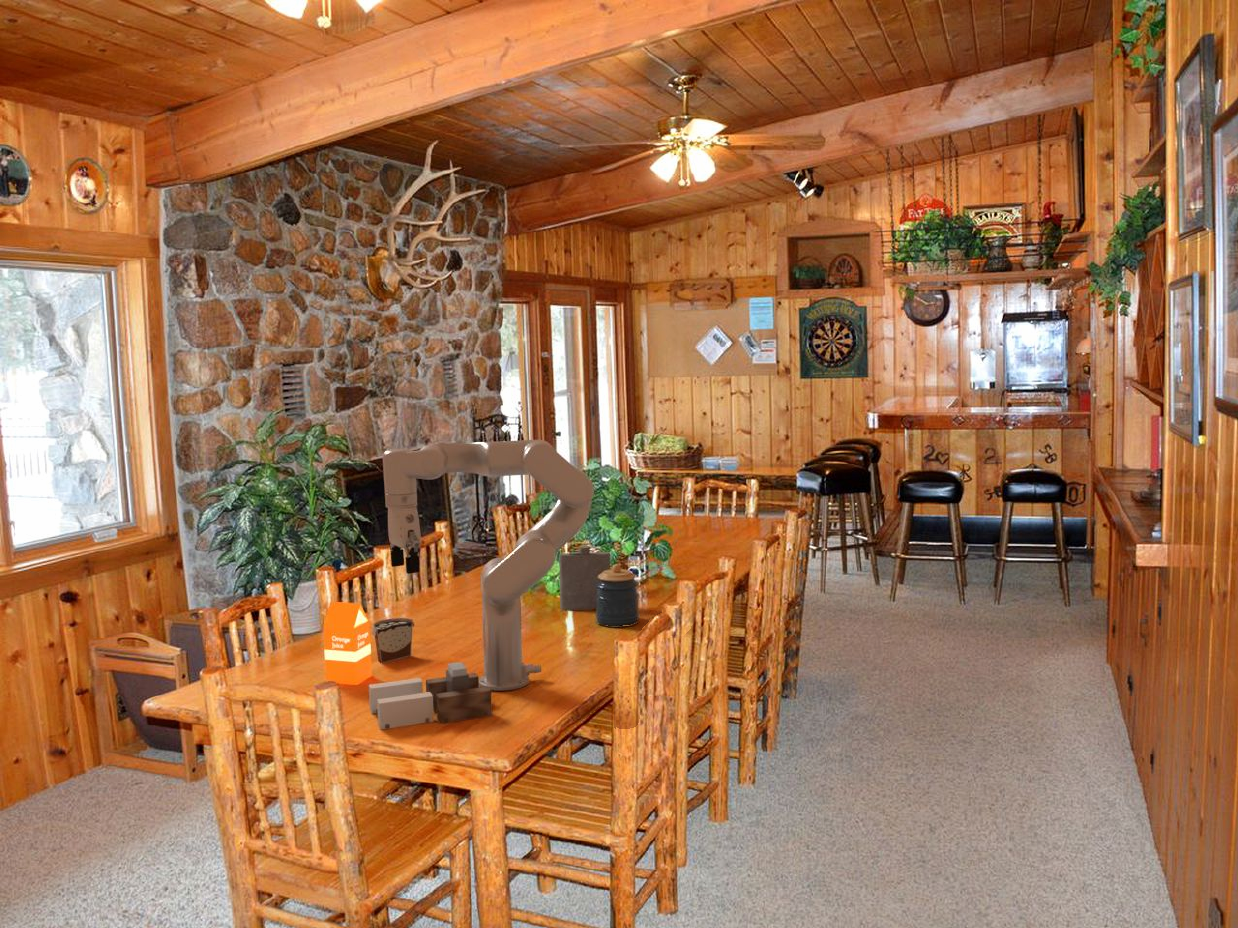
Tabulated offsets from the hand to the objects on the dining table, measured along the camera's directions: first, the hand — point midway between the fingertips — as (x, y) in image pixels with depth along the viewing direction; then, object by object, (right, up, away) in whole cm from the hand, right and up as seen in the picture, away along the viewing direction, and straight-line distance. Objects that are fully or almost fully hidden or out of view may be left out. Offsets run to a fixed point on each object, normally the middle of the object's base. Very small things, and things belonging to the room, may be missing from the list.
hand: (405, 569), depth 268 cm
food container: (-10, -27, +30) cm, 42 cm away
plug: (+15, -32, -12) cm, 37 cm away
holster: (+15, -32, -12) cm, 37 cm away
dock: (+2, -32, -15) cm, 35 cm away
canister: (+52, -22, +61) cm, 83 cm away
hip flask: (+42, -20, +78) cm, 90 cm away
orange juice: (-17, -29, +12) cm, 36 cm away
